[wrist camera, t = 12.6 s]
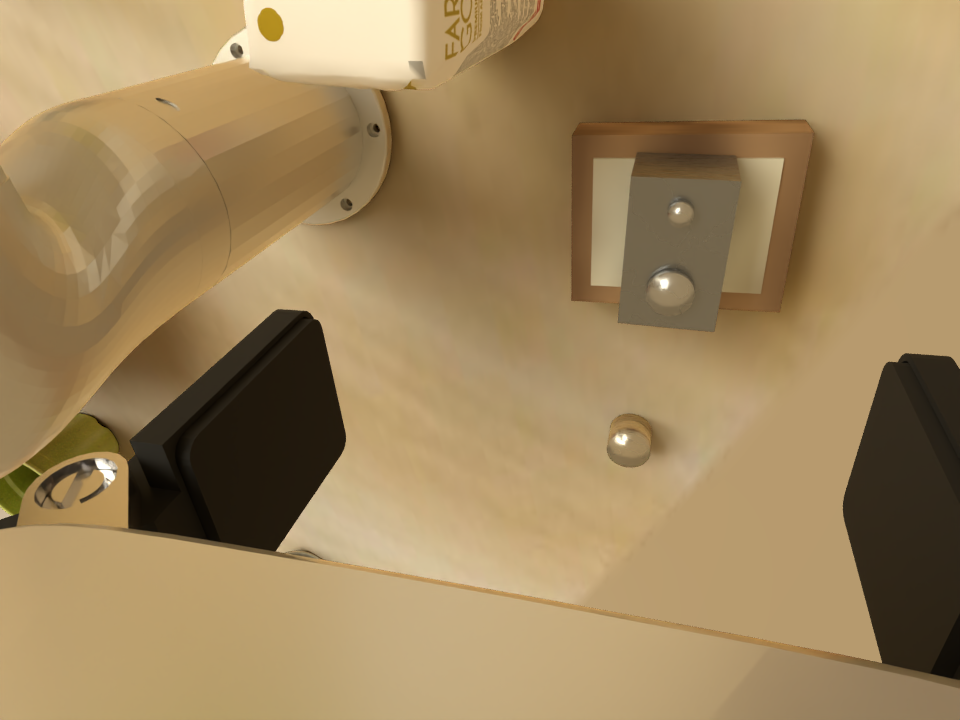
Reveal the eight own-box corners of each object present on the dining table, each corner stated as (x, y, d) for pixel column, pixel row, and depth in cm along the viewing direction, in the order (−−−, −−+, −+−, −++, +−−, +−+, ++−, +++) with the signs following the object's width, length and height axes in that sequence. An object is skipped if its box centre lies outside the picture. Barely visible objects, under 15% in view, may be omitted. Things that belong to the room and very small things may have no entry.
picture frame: (578, 280, 43) (570, 302, 40) (579, 122, 38) (571, 136, 35) (774, 289, 40) (780, 313, 37) (805, 119, 35) (814, 134, 32)
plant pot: (113, 402, 63) (40, 460, 55) (148, 476, 67) (84, 539, 60) (37, 394, 65) (-42, 449, 58) (76, 466, 70) (7, 525, 63)
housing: (636, 152, 35) (630, 180, 31) (735, 155, 34) (742, 185, 29) (624, 287, 39) (616, 328, 35) (711, 295, 38) (714, 337, 34)
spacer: (609, 442, 50) (605, 464, 47) (611, 411, 48) (608, 431, 46) (649, 448, 49) (648, 469, 47) (653, 416, 47) (651, 437, 45)
